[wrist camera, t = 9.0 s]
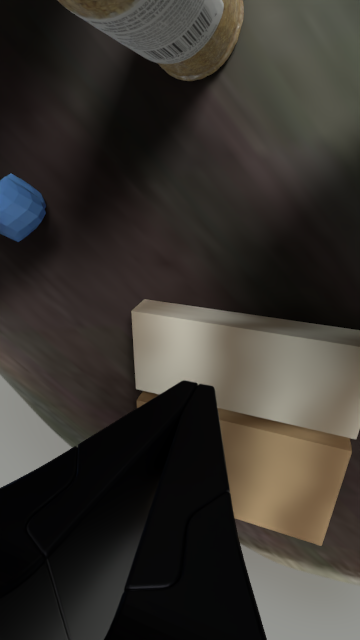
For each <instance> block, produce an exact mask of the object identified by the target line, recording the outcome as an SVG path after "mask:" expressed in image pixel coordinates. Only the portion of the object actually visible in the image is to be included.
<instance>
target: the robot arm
mask: <svg viewBox="0 0 360 640" xmlns="http://www.w3.org/2000/svg"><path fill="white" fill-rule="evenodd" d="M0 640H267V639H266V635H265V632H264V629H263V625H262V621H261V618H260V615H259V611H258V607H257V604H256V601H255V598H254V594H253V590H252V587H251V583H250V580H249V576H248V573H247V569H246V566H245V562H244V558H243V554H242V550H241V546H240V542H239V538H238V534H237V528H236V523H235V518H234V512H233V506H232V499H231V494H230V487H229V480H228V474H227V467H226V460H225V453H224V447H223V440H222V433H221V427H220V420H219V413H218V406H217V400H216V393H215V388H214V387H213V386H210V385H205V384H199V385H198V384H197V383H196V382H191V381H186V380H183V381H181V382H179V383H177V384H176V385H174V386H173V387H171V388H169V389H168V390H166V391H164V392H163V393H161V394H160V395H158V396H156V397H155V398H153V399H151V400H150V401H148V402H147V403H145V404H143V405H142V406H140V407H138V408H137V409H135V410H133V411H132V412H130V413H129V414H127V415H125V416H124V417H122V418H120V419H119V420H117V421H116V422H114V423H112V424H111V425H109V426H107V427H106V428H104V429H103V430H101V431H99V432H98V433H96V434H94V435H93V436H91V437H90V438H88V439H86V440H85V441H83V442H81V443H80V444H78V448H77V447H76V446H75V447H73V448H71V449H70V450H69V451H67V452H65V453H63V454H62V455H60V456H58V457H57V458H55V459H53V460H52V461H50V462H48V463H46V464H45V465H43V466H41V467H39V468H38V469H36V470H34V471H32V472H30V473H28V474H26V475H25V476H23V477H21V478H19V479H17V480H15V481H13V482H11V483H9V484H7V485H6V486H3V487H1V488H0Z"/></svg>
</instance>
